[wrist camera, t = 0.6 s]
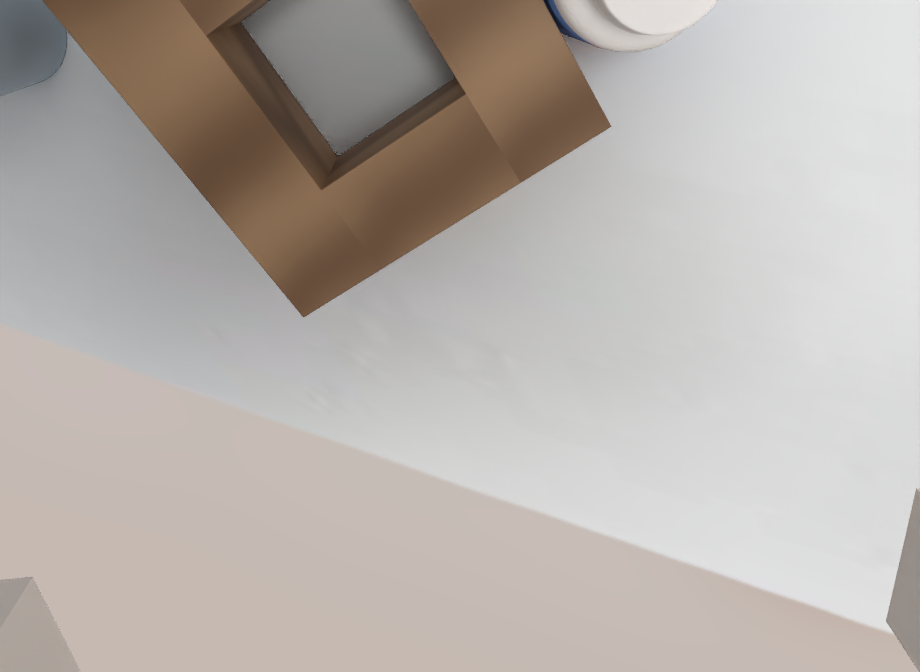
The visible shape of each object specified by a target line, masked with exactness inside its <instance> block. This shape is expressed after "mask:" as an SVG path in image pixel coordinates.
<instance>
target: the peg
mask: <svg viewBox="0 0 920 672" xmlns="http://www.w3.org/2000/svg"><path fill="white" fill-rule="evenodd" d="M66 47H67V35H66V29H65V27H64V26H63V25H62V24H61V23H60V21H59V20H58V19H57V18H56V17H55V15H54V14H53V13H52V12H51V10H50V9H49V8H48V7H47V6H46V4H45V3H44V2H43V1H42V0H0V96H1V95H4V94H7V93H10V92H13V91H16V90H19V89H21V88H24V87H27V86H30V85H33V84H36V83H39V82H41V81H44V80H46V79H47V78H49V77H50V76H52V75H53V74H54V73H55V72H56V71H57V69H58V68H59V67H60V65H61V63H62V61H63V59H64V56H65V52H66Z"/></svg>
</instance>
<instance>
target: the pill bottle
mask: <svg viewBox="0 0 920 672" xmlns="http://www.w3.org/2000/svg"><path fill="white" fill-rule="evenodd" d="M543 1H544V3H545V5H546V7H547V9H548V11H549V12H550V14H551V16H552V18H553V20H554V22H555V23H556V25H557V27H558V29H559V31H560V33H562V34H565V35H567V36H570V37H573V38H576V39H578V40H581V41H584V42H586V43H588V44H591V45H593V46H596V47H599V48H603V49H607V50H612V51H619V52H635V51H642V50H647V49H651V48H654V47H657V46H659V45H661V44H663V43H665V42H667V41H669V40H671V39H672V38H674V37H675V36H677V35H678V34H679V33H681V32H682V31H683V30H684V29H686V28H688V27H690V26H691V25H693V24H695V23H696V22H697V21H699V20H700V19H701V18H702V17H704V16H705V15H706V14H707V13H708V12H709V11H710V10H711V9H712V7H713V6H714V5H715V4H716V2H717V1H718V0H543Z"/></svg>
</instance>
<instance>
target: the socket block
mask: <svg viewBox="0 0 920 672" xmlns="http://www.w3.org/2000/svg"><path fill="white" fill-rule="evenodd" d="M42 1H43V2H44V3H45V4H46V6H47V7H48V8H49V9H50V10H51V12H52V13H53V14H54V15H55V17H56V18H57V19H58V20H59V21H60V23H61V24H62V25H63V26H64V27H65V29H66V30H67V31H68V32H69V34H70V35H71V36H72V37H73V38H74V40H75V41H76V42H77V43H78V44H79V46H80V47H81V48H82V49H83V50H84V52H85V53H86V54H87V55H88V57H89V58H90V59H91V60H92V61H93V63H94V64H95V65H96V66H97V67H98V69H99V70H100V71H101V72H102V74H103V75H104V76H105V77H106V78H107V80H108V81H109V82H110V83H111V84H112V86H113V87H114V88H115V89H116V91H117V92H118V93H119V94H120V95H121V97H122V98H123V99H124V100H125V101H126V103H127V104H128V105H129V106H130V108H131V109H132V110H133V111H134V112H135V114H136V115H137V116H138V117H139V118H140V120H141V121H142V122H143V123H144V124H145V126H146V127H147V128H148V129H149V131H150V132H151V133H152V134H153V135H154V137H155V138H156V139H157V140H158V141H159V143H160V144H161V145H162V146H163V148H164V149H165V150H166V151H167V152H168V154H169V155H170V156H171V157H172V158H173V160H174V161H175V162H176V163H177V165H178V166H179V167H180V168H181V169H182V171H183V172H184V173H185V174H186V175H187V177H188V178H189V179H190V180H191V182H192V183H193V184H194V185H195V186H196V188H197V189H198V190H199V191H200V192H201V194H202V195H203V196H204V197H205V198H206V200H207V201H208V202H209V203H210V205H211V206H212V207H213V208H214V209H215V211H216V212H217V213H218V214H219V215H220V217H221V218H222V219H223V220H224V222H225V223H226V224H227V225H228V226H229V228H230V229H231V230H232V231H233V232H234V234H235V235H236V236H237V237H238V239H239V240H240V241H241V242H242V243H243V245H244V246H245V247H246V248H247V249H248V251H249V252H250V253H251V254H252V256H253V257H254V258H255V259H256V260H257V262H258V263H259V264H260V265H261V266H262V268H263V269H264V270H265V271H266V273H267V274H268V275H269V276H270V277H271V279H272V280H273V281H274V282H275V283H276V285H277V286H278V287H279V288H280V289H281V291H282V292H283V293H284V294H285V296H286V297H287V298H288V299H289V300H290V302H291V303H292V304H293V305H294V306H295V308H296V309H297V310H298V311H299V313H300V314H301V315H302V316H303V317H305V316H307V315H308V314H310V313H311V312H313V311H315V310H316V309H318V308H320V307H321V306H323V305H324V304H326V303H328V302H329V301H331V300H332V299H334V298H336V297H337V296H339V295H340V294H342V293H344V292H345V291H347V290H349V289H350V288H352V287H353V286H355V285H357V284H358V283H360V282H361V281H363V280H365V279H366V278H368V277H369V276H371V275H373V274H374V273H376V272H378V271H379V270H381V269H382V268H384V267H386V266H387V265H389V264H390V263H392V262H394V261H395V260H397V259H399V258H400V257H402V256H403V255H405V254H407V253H408V252H410V251H411V250H413V249H415V248H416V247H418V246H419V245H421V244H423V243H424V242H426V241H428V240H429V239H431V238H432V237H434V236H436V235H437V234H439V233H440V232H442V231H444V230H445V229H447V228H448V227H450V226H452V225H453V224H455V223H457V222H458V221H460V220H461V219H463V218H465V217H466V216H468V215H469V214H471V213H473V212H474V211H476V210H478V209H479V208H481V207H482V206H484V205H486V204H487V203H489V202H490V201H492V200H494V199H495V198H497V197H498V196H500V195H502V194H503V193H505V192H507V191H508V190H510V189H511V188H513V187H515V186H516V185H518V184H519V183H521V182H523V181H524V180H526V179H527V178H529V177H531V176H532V175H534V174H536V173H537V172H539V171H540V170H542V169H544V168H545V167H547V166H548V165H550V164H552V163H553V162H555V161H556V160H558V159H560V158H561V157H563V156H565V155H566V154H568V153H569V152H571V151H573V150H574V149H576V148H577V147H579V146H581V145H582V144H584V143H586V142H587V141H589V140H590V139H592V138H594V137H595V136H597V135H598V134H600V133H602V132H603V131H605V130H606V129H608V128H610V127H611V125H610V123H609V122H608V120H607V118H606V116H605V114H604V112H603V110H602V109H601V107H600V105H599V103H598V101H597V99H596V97H595V96H594V94H593V92H592V90H591V88H590V86H589V85H588V83H587V81H586V79H585V77H584V75H583V73H582V72H581V70H580V68H579V66H578V64H577V62H576V60H575V59H574V57H573V55H572V53H571V51H570V49H569V48H568V46H567V44H566V42H565V40H564V38H563V36H562V35H561V33H560V31H559V29H558V27H557V25H556V23H555V22H554V20H553V18H552V16H551V14H550V12H549V11H548V9H547V7H546V5H545V3H544V1H543V0H408V1H409V2H410V4H411V6H412V7H413V9H414V10H415V12H416V14H417V15H418V17H419V19H420V20H421V22H422V23H423V25H424V27H425V28H426V30H427V32H428V33H429V35H430V36H431V38H432V40H433V41H434V43H435V45H436V46H437V48H438V49H439V51H440V53H441V54H442V56H443V57H444V59H445V61H446V62H447V64H448V66H449V67H450V69H451V70H452V72H453V74H454V75H455V77H456V78H454V79H453V80H451V81H450V82H448V83H447V84H445V85H444V86H442V87H441V88H439V89H438V90H436V91H435V92H433V93H432V94H430V95H429V96H427V97H426V98H424V99H423V100H422V101H420V102H419V103H417V104H416V105H414V106H413V107H411V108H410V109H408V110H407V111H405V112H404V113H402V114H401V115H399V116H398V117H396V118H395V119H393V120H392V121H390V122H389V123H387V124H386V125H384V126H383V127H381V128H380V129H378V130H377V131H375V132H374V133H372V134H371V135H370V136H368V137H367V138H365V139H364V140H362V141H361V142H359V143H358V144H356V145H355V146H353V147H352V148H350V149H349V150H347V151H346V152H344V153H343V154H341V155H340V156H338V157H337V155H336V154H335V153H334V151H333V150H332V148H331V147H330V146H329V144H328V143H327V141H326V140H325V139H324V137H323V136H322V134H321V133H320V132H319V130H318V129H317V128H316V126H315V125H314V123H313V122H312V121H311V119H310V118H309V116H308V115H307V114H306V112H305V111H304V110H303V108H302V107H301V105H300V104H299V103H298V101H297V100H296V98H295V97H294V96H293V94H292V93H291V91H290V90H289V89H288V87H287V86H286V85H285V83H284V82H283V80H282V79H281V78H280V76H279V75H278V73H277V72H276V71H275V69H274V68H273V66H272V65H271V64H270V62H269V61H268V60H267V58H266V57H265V55H264V54H263V53H262V51H261V50H260V48H259V47H258V46H257V44H256V43H255V42H254V40H253V39H252V37H251V36H250V35H249V33H248V32H247V30H246V29H245V28H244V26H243V25H242V23H241V22H242V21H243V20H244V19H246V18H247V17H248V16H250V15H251V14H252V13H254V12H255V11H256V10H258V9H259V8H260V7H262V6H263V5H264V4H266V3H267V2H268V1H270V0H42Z"/></svg>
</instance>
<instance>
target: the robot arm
mask: <svg viewBox="0 0 920 672" xmlns="http://www.w3.org/2000/svg"><path fill="white" fill-rule="evenodd" d="M886 622H887V623H888V625H889V626H890V628H891V629H892V631H893V632H894V634H895V636H896V637H897V639H898V640H899V642H900V643H901V644H902V646H903V648H904V649H905V651H906V652H907V654H908V656H909V657H910V659H911V660H912V662H913V663H914V665H915V666H916V668H917V669H918V671H919V672H920V488H919V489H916V492H915V497H914V501H913V505H912V510H911V514H910V518H909V523H908V527H907V532H906V536H905V540H904V545H903V549H902V554H901V558H900V562H899V567H898V571H897V575H896V580H895V584H894V589H893V593H892V597H891V602H890V606H889V610H888V615H887V619H886ZM0 672H81V671H80V669H79V667H78V665H77V663H76V661H75V659H74V657H73V655H72V653H71V651H70V649H69V647H68V645H67V643H66V641H65V639H64V638H63V635H62V633H61V631H60V629H59V628H58V626H57V624H56V622H55V620H54V618H53V616H52V614H51V612H50V610H49V608H48V606H47V604H46V602H45V600H44V598H43V596H42V595H41V592H40V590H39V589H38V586H37V585H36V582H35V581H34V579H33V577H25V578H15V579H5V580H0Z"/></svg>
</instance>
